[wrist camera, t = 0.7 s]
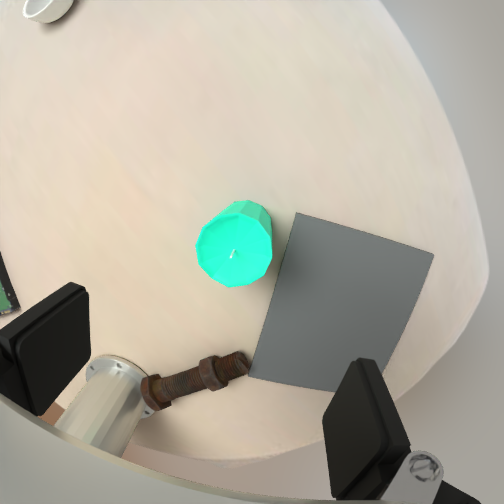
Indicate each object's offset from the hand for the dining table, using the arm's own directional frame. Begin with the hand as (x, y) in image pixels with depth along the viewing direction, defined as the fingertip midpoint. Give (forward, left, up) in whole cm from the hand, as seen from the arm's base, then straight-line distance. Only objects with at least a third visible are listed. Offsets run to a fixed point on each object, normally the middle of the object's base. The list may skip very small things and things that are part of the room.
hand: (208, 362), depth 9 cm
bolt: (-21, +3, -25) cm, 33 cm away
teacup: (+28, +36, -25) cm, 52 cm away
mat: (-8, -13, -25) cm, 29 cm away
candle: (0, +1, -25) cm, 25 cm away
